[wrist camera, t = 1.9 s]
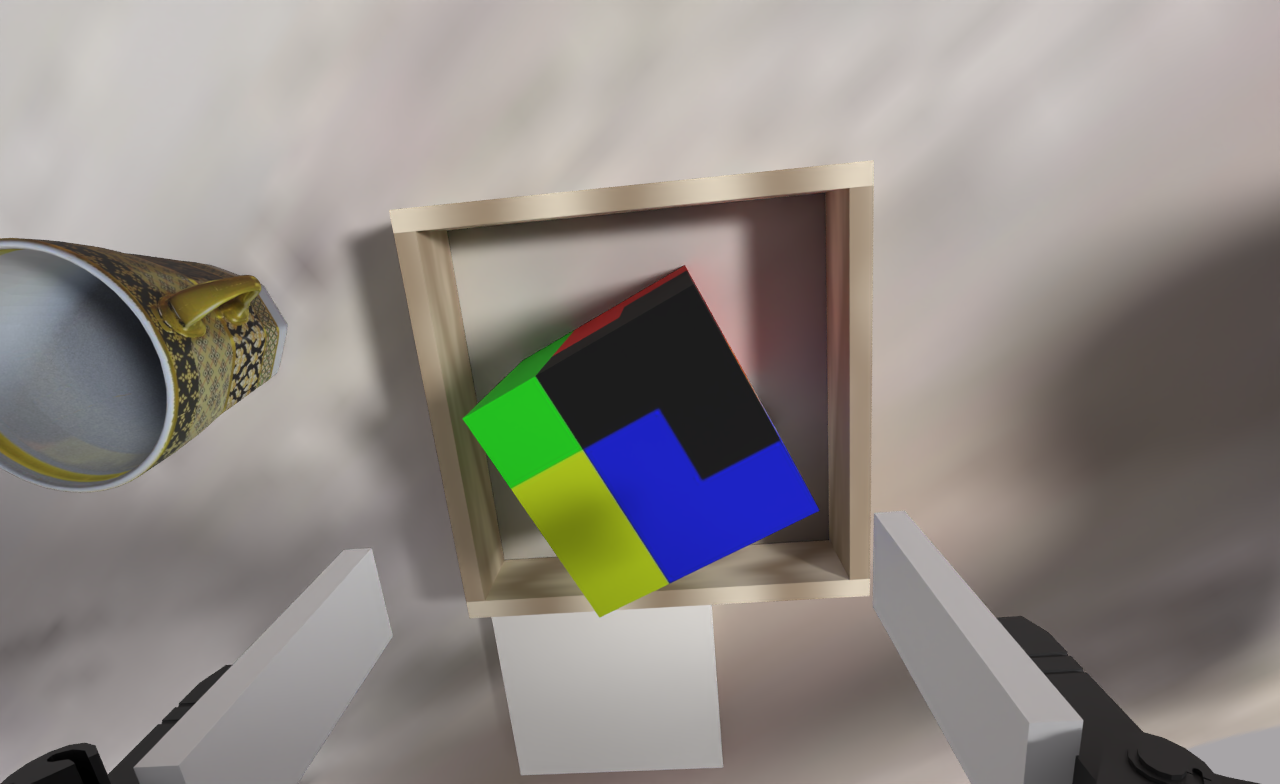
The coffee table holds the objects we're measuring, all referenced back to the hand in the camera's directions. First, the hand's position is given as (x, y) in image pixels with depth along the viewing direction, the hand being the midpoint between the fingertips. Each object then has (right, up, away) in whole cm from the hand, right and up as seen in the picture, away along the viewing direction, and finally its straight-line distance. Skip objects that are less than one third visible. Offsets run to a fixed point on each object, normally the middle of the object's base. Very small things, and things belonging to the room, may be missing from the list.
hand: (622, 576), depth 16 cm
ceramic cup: (-21, +9, +17) cm, 28 cm away
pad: (-1, -13, +22) cm, 25 cm away
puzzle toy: (+1, +5, +17) cm, 18 cm away
